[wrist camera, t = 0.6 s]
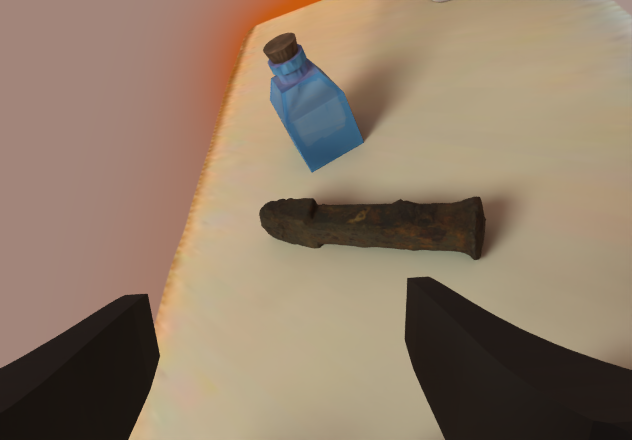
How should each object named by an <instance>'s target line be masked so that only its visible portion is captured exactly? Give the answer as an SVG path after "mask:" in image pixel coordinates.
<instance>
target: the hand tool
mask: <svg viewBox="0 0 632 440" xmlns="http://www.w3.org/2000/svg"><path fill="white" fill-rule="evenodd" d="M259 216H260V219H261V225H262V227H263V228H264V229H265V230H266V231H267V232H268V234H270V235H271V236H273V237H274V238H277V239H279V240H282V241H285V242H288V243H291V244H298V245H302V246H306V247H310V248H320V247H321V246H322V245H323V244H338V245H349V246H357V247H383V248H396V249H408V250H413V251H416V250H431V251H439V250H441V251H457V252H463V253H466V254H468V255H470V256H471V257H472V258H473V259H474V260H478V259H479V258H480V255H481V250H482V245H483V240H484V232H485V221H486V219H485V217H484V212H483V206H482V202H481V199H480V197H472V198H468V199H465V200H463V201H460V202H455V203H431V204H418V203H413V202H409V201H403V200H401V199H400V200H398V201H396V202H394V203H392V204H357V205H325V204H322V205H317V203H316V201H315V200H314V199H313V198H302V199H293V198H289V199H287V200H285V199H279V200H278V201H270V202H268V203H266V204H265V205H264V206H263V207H262V208H261V210H260V213H259Z"/></svg>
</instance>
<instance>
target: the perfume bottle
mask: <svg viewBox="0 0 632 440" xmlns="http://www.w3.org/2000/svg"><path fill="white" fill-rule="evenodd" d="M263 51H264V53H265V54H266V55H267V57H268V58H269V61H268V65H269V67H270V69H271V70H272V72H273V74H274V75H276V76H274V77H272V78H271V92H270V101H271V103H272V105H273V106H274V108H275V110H276V112H277V114H278V115H279V117H280V119H281V121H282V123H283V124H284V126H285V128H286V130H287V132H288V133H289V135H290V137H291V139H292V141H293V142H294V144H295V146H296V147H297V149H298V151H299V152H300V154H301V156H302V157H303V159H304V160H305V162H306V164H307V165H308V167H309V169H310V170H311V172H314V171H316V170H317V169H319V168H321V167H322V166H324V165H326V164H328V163H329V162H331V161H333V160H335V159H336V158H338V157H340V156H341V155H343V154H345V153H347V152H348V151H350V150H352V149H353V148H355V147H357V146H359V145H360V144H362V143H364V142H363V139H362V137H361V134H360V132H359V129H358V127H357V124H356V122H355V119H354V117H353V114H352V112H351V109H350V107H349V104H348V102H347V99H346V97H345V94H344V92H343V91H342V90H341V89H340V88H339V87H338V86H337V85H336V84H335V83H334V82H333V81H332V80H331V79H330V78H329V77H328V76H327V75H326V74H325V73H324V72H323V71H322V70H321V69H320V68H318V67H317V66H316V65H315V64H313V63H312V62H311V61H310V60H308V59H307V58H306V55H305V53H304V51H303V48H302V46H301V45H299V44H297V42H296V37H295V34H294V33H285V34H282V35H279V36H277V37H275V38H274V39H272V40H271V41H269V42H268V43H267V44H266V45H265V47H264V49H263Z"/></svg>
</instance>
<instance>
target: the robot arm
mask: <svg viewBox="0 0 632 440" xmlns="http://www.w3.org/2000/svg"><path fill="white" fill-rule="evenodd" d="M405 342H406V346H407V349H408V353H409V356H410V359H411V363H412V366H413V369H414V372H415V374H416V376H417V379H418V381H419V383H420V385H421V388H422V390H423V392H424V394H425V396H426V399H427V401H428V403H429V405H430V407H431V410H432V412H433V414H434V416H435V418H436V420H437V423H438V425H439V427H440V429H441V431H442V434H443V436H444V438H445V440H632V370H630V369H626V368H623V367H620V366H616V365H613V364H610V363H607V362H603V361H600V360H598V359H595V358H592V357H589V356H586V355H583V354H580V353H578V352H575V351H572V350H569V349H567V348H564V347H562V346H559V345H557V344H554V343H552V342H549V341H547V340H545V339H543V338H540V337H538V336H536V335H533V334H531V333H529V332H527V331H525V330H523V329H520V328H518V327H516V326H514V325H512V324H511V323H509V322H507V321H505V320H503V319H501V318H499V317H497V316H495V315H494V314H492V313H490V312H488V311H486V310H485V309H483V308H481V307H479V306H478V305H476V304H474V303H473V302H471V301H469V300H468V299H466V298H464V297H463V296H461V295H459V294H458V293H456V292H455V291H453V290H451V289H450V288H448V287H446V286H445V285H443V284H442V283H440V282H438V281H436V280H435V279H433V278H431V277H416V278H407V299H406V321H405ZM159 358H160V353H159V348H158V343H157V338H156V333H155V328H154V323H153V319H152V313H151V309H150V303H149V298H148V294H135V295H124V296H122V297H120V298H118V299H116V300H115V301H113V302H111V303H109V304H108V305H106V306H105V307H103V308H101V309H100V310H98V311H97V312H95V313H93V314H92V315H90V316H89V317H87V318H86V319H84V320H82V321H81V322H79V323H78V324H76V325H75V326H73V327H71V328H70V329H68V330H67V331H65V332H63V333H62V334H60V335H58V336H57V337H55V338H54V339H52V340H50V341H48V342H47V343H45V344H43V345H41V346H40V347H38V348H36V349H35V350H33V351H31V352H30V353H28V354H26V355H24V356H23V357H21V358H19V359H17V360H16V361H14V362H12V363H10V364H8V365H6V366H4V367H2V368H0V440H128V439H129V437H130V434H131V432H132V430H133V428H134V426H135V423H136V421H137V419H138V417H139V414H140V412H141V410H142V408H143V405H144V403H145V401H146V399H147V396H148V394H149V391H150V389H151V386H152V382H153V379H154V376H155V372H156V369H157V365H158V361H159Z"/></svg>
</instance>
